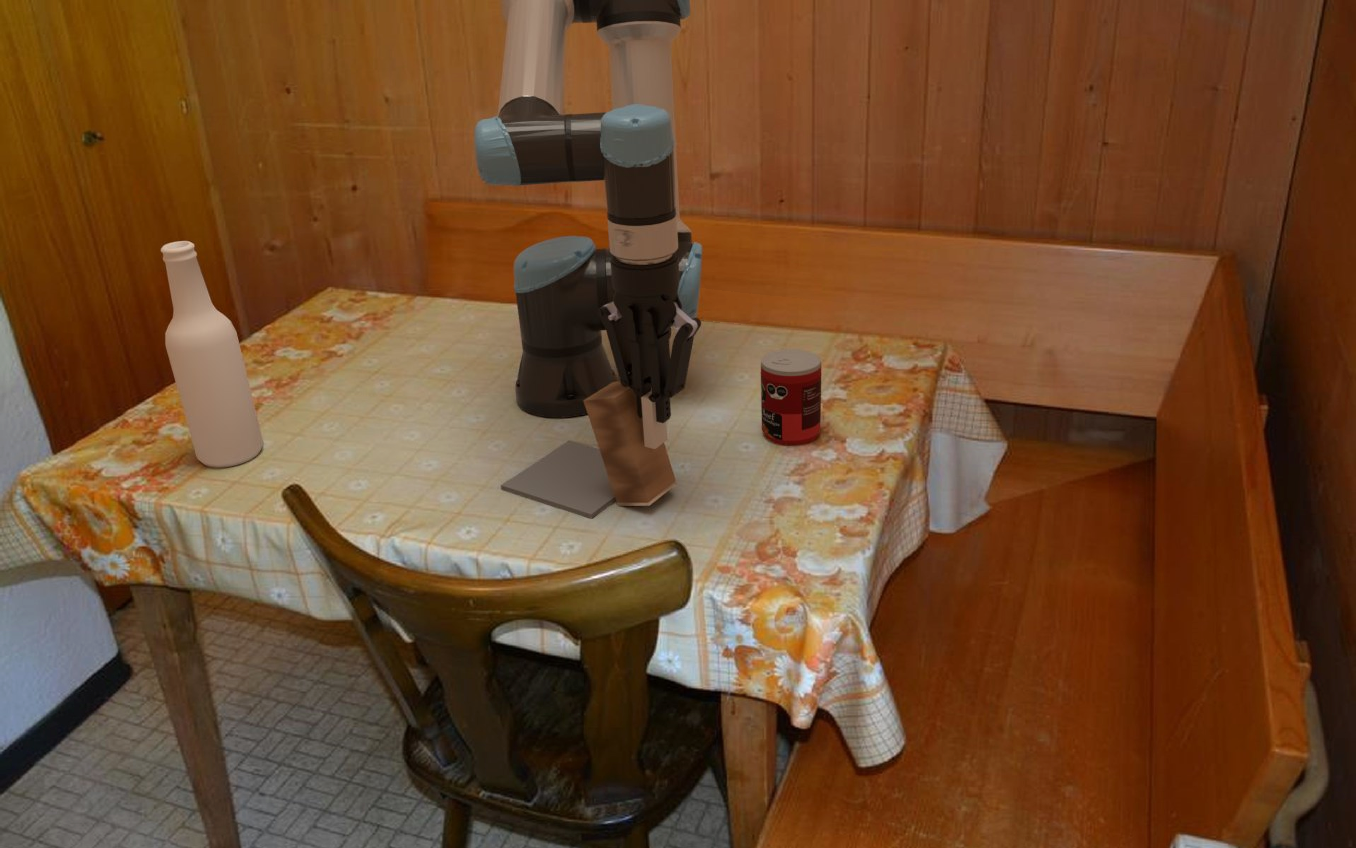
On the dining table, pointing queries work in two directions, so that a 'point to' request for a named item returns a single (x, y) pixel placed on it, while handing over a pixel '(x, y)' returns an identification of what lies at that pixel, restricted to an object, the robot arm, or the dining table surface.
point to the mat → (567, 480)
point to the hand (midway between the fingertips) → (656, 442)
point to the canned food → (791, 396)
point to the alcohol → (208, 367)
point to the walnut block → (628, 448)
